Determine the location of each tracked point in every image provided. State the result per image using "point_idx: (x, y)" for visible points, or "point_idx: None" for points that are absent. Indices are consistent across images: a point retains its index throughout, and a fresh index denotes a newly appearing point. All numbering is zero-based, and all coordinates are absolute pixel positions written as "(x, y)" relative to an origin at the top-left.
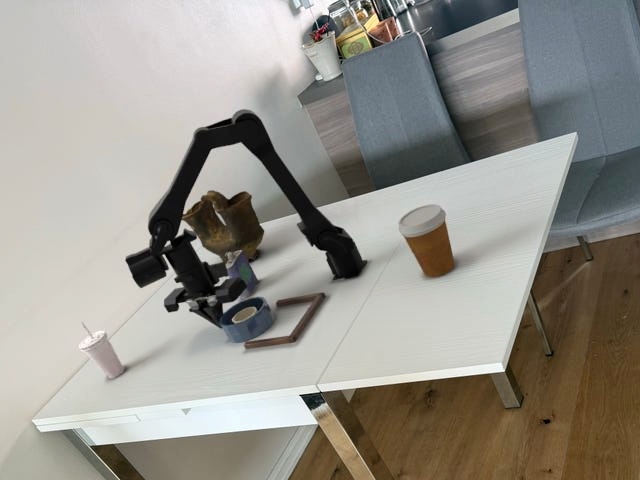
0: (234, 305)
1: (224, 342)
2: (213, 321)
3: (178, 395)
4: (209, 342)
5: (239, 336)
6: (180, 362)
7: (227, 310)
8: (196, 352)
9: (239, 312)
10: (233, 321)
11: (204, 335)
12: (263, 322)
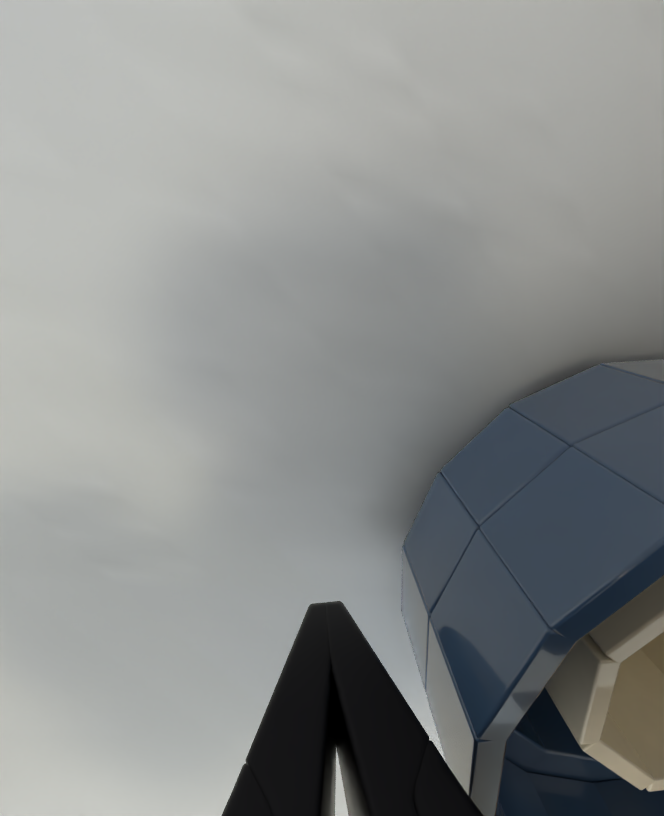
0: (593, 626)
1: (381, 659)
2: (334, 812)
3: None
4: (214, 652)
5: None
6: (120, 807)
7: (510, 725)
8: (180, 737)
9: (640, 646)
10: (625, 776)
11: (49, 569)
12: None
